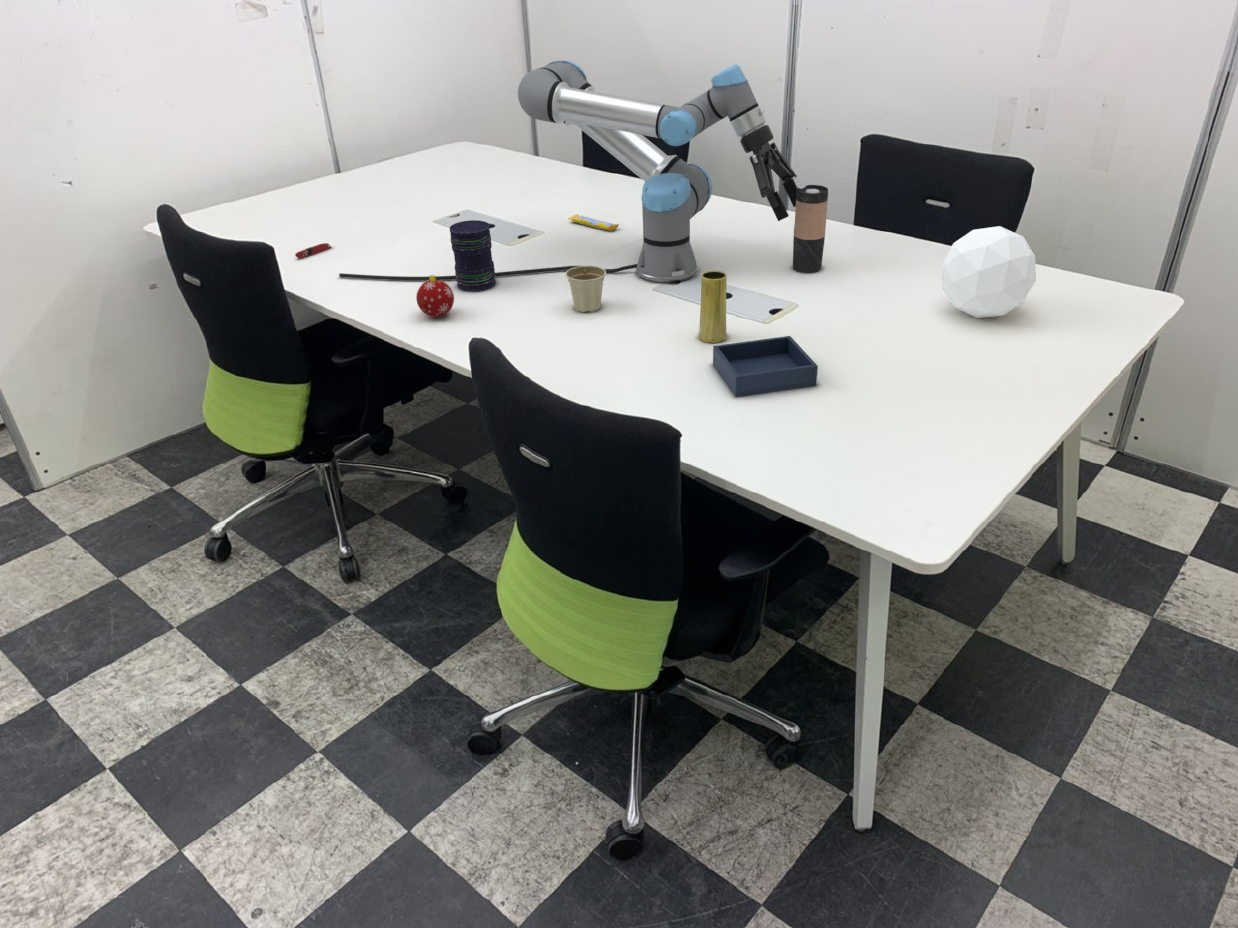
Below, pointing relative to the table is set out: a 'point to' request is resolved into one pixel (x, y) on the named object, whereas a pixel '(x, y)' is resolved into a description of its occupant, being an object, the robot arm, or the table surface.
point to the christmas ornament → (435, 297)
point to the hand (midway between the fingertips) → (791, 211)
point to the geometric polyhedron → (988, 272)
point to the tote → (764, 366)
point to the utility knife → (312, 250)
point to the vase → (713, 307)
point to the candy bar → (593, 223)
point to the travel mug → (809, 228)
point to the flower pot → (586, 287)
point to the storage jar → (472, 255)
